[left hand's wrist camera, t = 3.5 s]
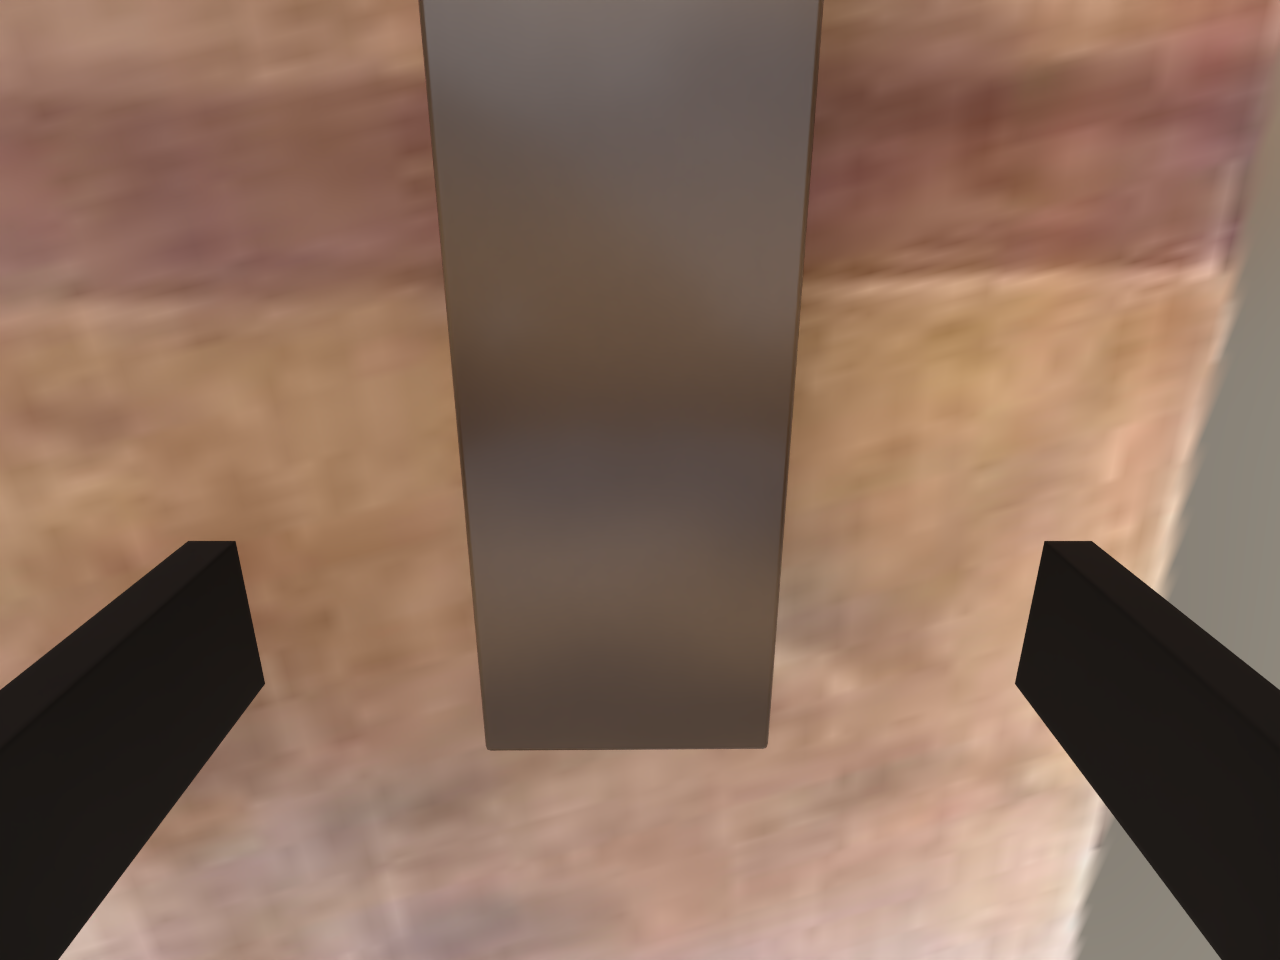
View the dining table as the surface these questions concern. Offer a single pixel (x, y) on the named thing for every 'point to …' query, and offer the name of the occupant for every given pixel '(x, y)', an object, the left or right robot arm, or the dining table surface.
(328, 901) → the dining table surface
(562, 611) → the post
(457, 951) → the dining table surface
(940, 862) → the dining table surface
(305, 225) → the dining table surface
